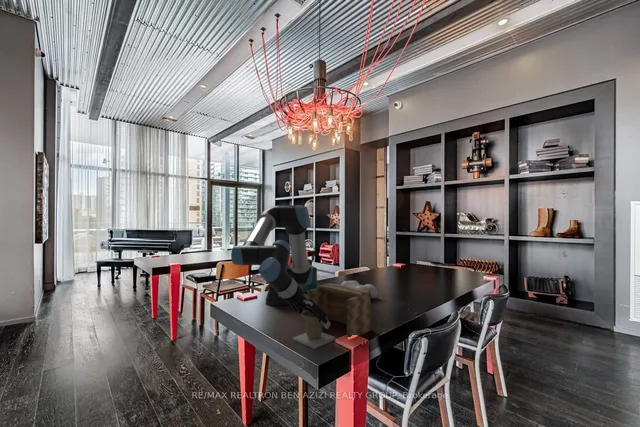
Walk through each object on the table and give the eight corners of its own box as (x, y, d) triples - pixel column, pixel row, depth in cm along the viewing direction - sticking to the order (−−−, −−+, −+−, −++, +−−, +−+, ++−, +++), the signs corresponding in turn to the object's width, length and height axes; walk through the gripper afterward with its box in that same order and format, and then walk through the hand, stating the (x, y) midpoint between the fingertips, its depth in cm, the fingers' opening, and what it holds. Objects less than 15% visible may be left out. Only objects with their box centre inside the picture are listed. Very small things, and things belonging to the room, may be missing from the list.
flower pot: (326, 330, 119) (326, 310, 120) (324, 340, 110) (324, 317, 110) (304, 330, 120) (304, 309, 120) (300, 339, 111) (300, 316, 111)
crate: (349, 340, 114) (348, 297, 115) (307, 325, 131) (307, 288, 131) (370, 330, 125) (370, 290, 125) (329, 317, 142) (329, 283, 142)
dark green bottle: (318, 291, 197) (318, 259, 198) (309, 294, 191) (309, 261, 192) (308, 289, 204) (308, 258, 205) (299, 291, 197) (299, 260, 198)
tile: (314, 348, 106) (314, 346, 106) (293, 340, 115) (293, 337, 115) (335, 339, 115) (335, 336, 115) (314, 331, 123) (314, 329, 123)
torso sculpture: (380, 302, 177) (352, 288, 203) (380, 285, 176) (353, 273, 203) (359, 306, 170) (333, 290, 196) (360, 288, 169) (334, 275, 195)
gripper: (266, 294, 112) (296, 324, 123) (304, 305, 97) (335, 338, 108) (277, 278, 116) (305, 309, 127) (315, 286, 101) (344, 321, 112)
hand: (319, 323), depth 117 cm, fingers closed on flower pot, 9 cm apart
